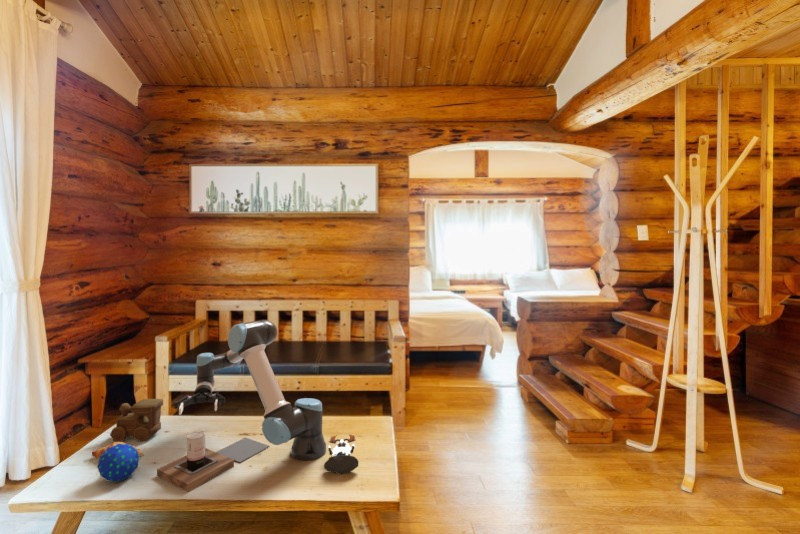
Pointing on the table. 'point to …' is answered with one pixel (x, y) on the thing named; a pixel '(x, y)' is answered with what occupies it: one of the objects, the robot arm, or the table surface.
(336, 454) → the figurine
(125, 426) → the wooden toy train
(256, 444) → the rubber mat
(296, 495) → the table surface
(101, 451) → the croissant
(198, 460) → the beverage can
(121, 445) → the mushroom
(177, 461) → the socket stand
